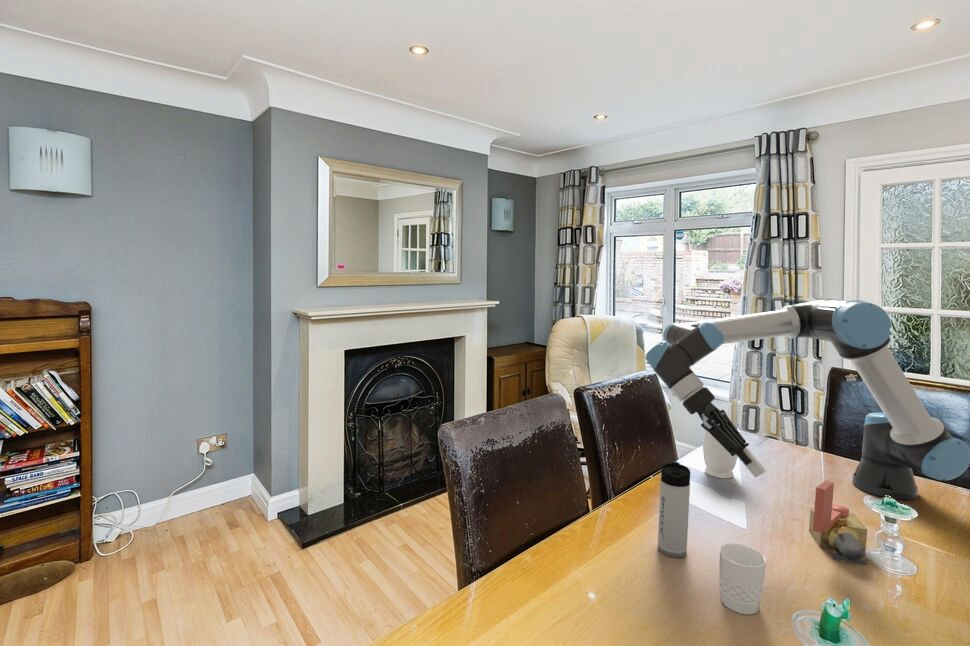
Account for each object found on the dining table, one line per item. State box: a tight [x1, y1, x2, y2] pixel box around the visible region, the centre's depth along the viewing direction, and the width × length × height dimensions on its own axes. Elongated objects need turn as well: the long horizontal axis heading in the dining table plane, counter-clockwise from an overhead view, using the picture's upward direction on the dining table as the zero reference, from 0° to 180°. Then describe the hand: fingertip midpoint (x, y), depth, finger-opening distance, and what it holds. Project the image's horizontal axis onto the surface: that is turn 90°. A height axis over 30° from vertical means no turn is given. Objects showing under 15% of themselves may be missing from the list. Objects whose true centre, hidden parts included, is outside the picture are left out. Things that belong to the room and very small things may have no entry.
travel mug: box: [657, 461, 691, 559], centre depth 112 cm, size 6×7×20 cm
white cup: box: [719, 543, 767, 616], centre depth 94 cm, size 8×8×10 cm
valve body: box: [808, 506, 868, 565], centre depth 116 cm, size 19×9×7 cm, turn 162°
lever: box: [813, 480, 850, 533], centre depth 112 cm, size 4×16×10 cm, turn 128°
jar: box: [702, 424, 741, 479], centre depth 156 cm, size 11×10×15 cm
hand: (760, 474), depth 117 cm, fingers closed
